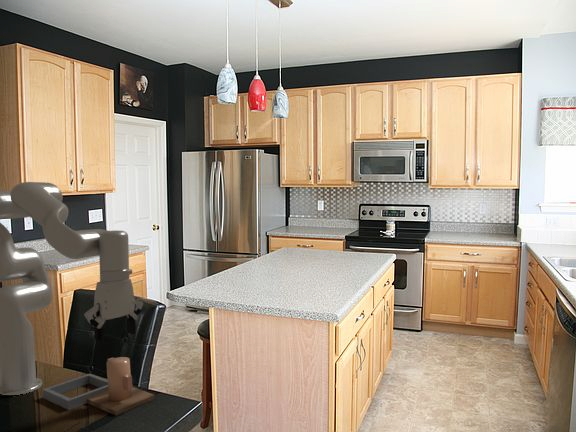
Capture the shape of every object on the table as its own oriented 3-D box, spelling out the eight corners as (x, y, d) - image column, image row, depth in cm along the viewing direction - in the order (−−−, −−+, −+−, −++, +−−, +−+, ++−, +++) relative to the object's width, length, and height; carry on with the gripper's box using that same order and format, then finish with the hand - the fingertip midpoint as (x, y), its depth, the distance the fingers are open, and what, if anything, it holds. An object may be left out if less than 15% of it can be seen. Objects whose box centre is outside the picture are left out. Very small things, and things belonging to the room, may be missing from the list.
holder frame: (43, 398, 134) (42, 389, 134) (90, 381, 145) (90, 373, 145) (68, 410, 125) (68, 401, 125) (117, 391, 137) (116, 383, 137)
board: (86, 403, 129) (86, 398, 129) (125, 388, 139) (125, 384, 139) (115, 415, 121) (115, 411, 121) (154, 399, 130) (154, 394, 130)
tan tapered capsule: (121, 389, 135) (119, 355, 134) (140, 396, 129) (138, 360, 129) (102, 397, 130) (100, 361, 130) (121, 404, 125) (118, 367, 124)
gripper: (133, 270, 138) (135, 328, 139) (77, 278, 124) (78, 342, 125) (149, 272, 133) (150, 332, 134) (92, 281, 120) (93, 348, 120)
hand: (115, 337), depth 130 cm, fingers open, 9 cm apart
